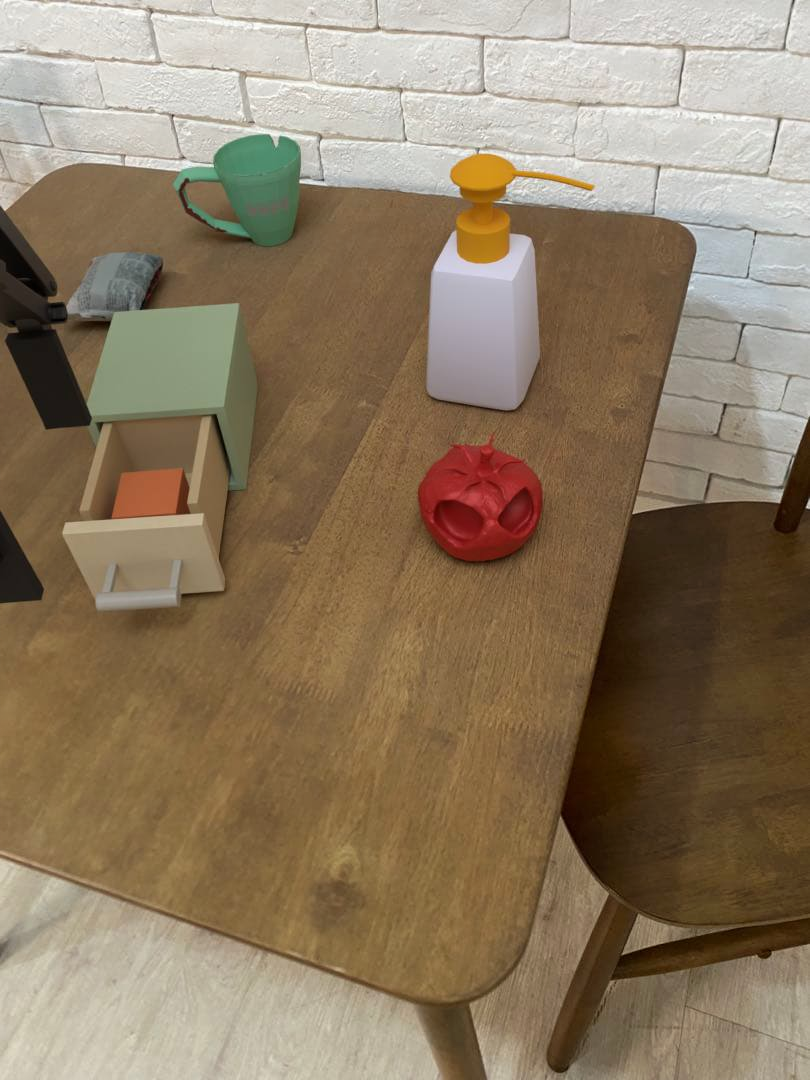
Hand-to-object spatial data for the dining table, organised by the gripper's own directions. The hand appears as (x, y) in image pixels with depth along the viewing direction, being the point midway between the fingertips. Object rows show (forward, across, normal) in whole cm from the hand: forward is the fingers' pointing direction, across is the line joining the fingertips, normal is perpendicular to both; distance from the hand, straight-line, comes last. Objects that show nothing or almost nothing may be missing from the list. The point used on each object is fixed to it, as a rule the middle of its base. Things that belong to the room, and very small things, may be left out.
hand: (45, 503), depth 53 cm
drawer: (+20, +14, 0) cm, 25 cm away
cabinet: (+21, +29, 0) cm, 36 cm away
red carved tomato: (+22, +15, -26) cm, 37 cm away
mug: (+21, +64, -4) cm, 68 cm away
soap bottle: (+21, +34, -30) cm, 50 cm away
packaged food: (+21, +52, +11) cm, 57 cm away
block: (+19, +15, 0) cm, 25 cm away
